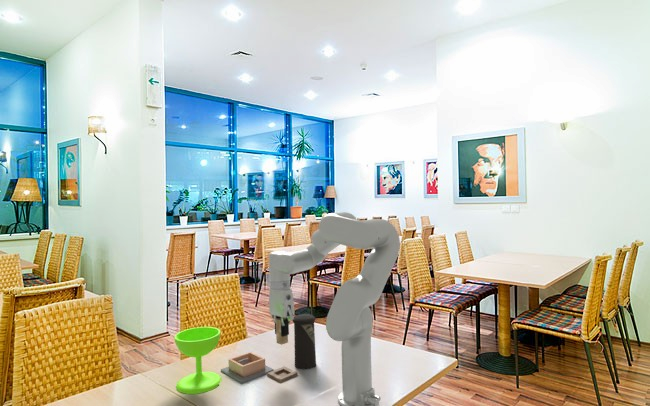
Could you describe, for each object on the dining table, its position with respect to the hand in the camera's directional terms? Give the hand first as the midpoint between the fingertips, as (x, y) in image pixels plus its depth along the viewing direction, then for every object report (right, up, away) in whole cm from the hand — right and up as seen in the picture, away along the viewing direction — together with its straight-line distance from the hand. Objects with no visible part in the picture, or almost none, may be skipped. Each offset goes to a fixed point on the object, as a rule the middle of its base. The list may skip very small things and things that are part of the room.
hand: (282, 334), depth 149 cm
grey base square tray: (-14, -16, +5) cm, 22 cm away
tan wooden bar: (0, -3, 0) cm, 3 cm away
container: (+8, -16, +9) cm, 20 cm away
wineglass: (-30, -17, -3) cm, 34 cm away
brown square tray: (0, -16, 0) cm, 16 cm away
